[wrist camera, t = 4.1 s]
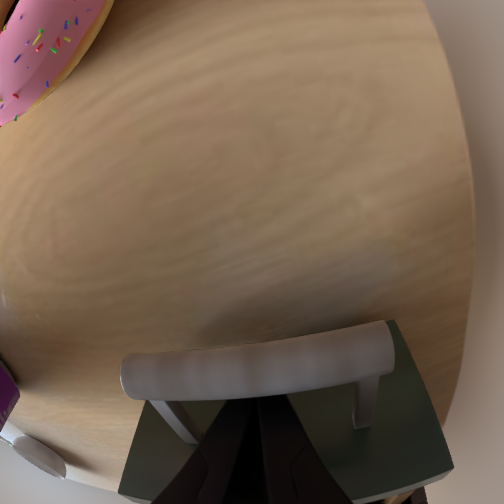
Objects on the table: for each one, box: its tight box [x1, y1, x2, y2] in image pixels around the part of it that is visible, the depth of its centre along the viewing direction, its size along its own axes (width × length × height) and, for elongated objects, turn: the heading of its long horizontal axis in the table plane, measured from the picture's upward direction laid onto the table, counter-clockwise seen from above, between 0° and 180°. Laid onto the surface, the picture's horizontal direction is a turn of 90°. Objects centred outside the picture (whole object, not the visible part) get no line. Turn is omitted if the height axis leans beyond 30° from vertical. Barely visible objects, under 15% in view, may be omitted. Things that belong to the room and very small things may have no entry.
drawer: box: [118, 319, 454, 504], centre depth 11 cm, size 18×11×8 cm, turn 13°
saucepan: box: [0, 435, 66, 479], centre depth 28 cm, size 11×18×4 cm, turn 59°
